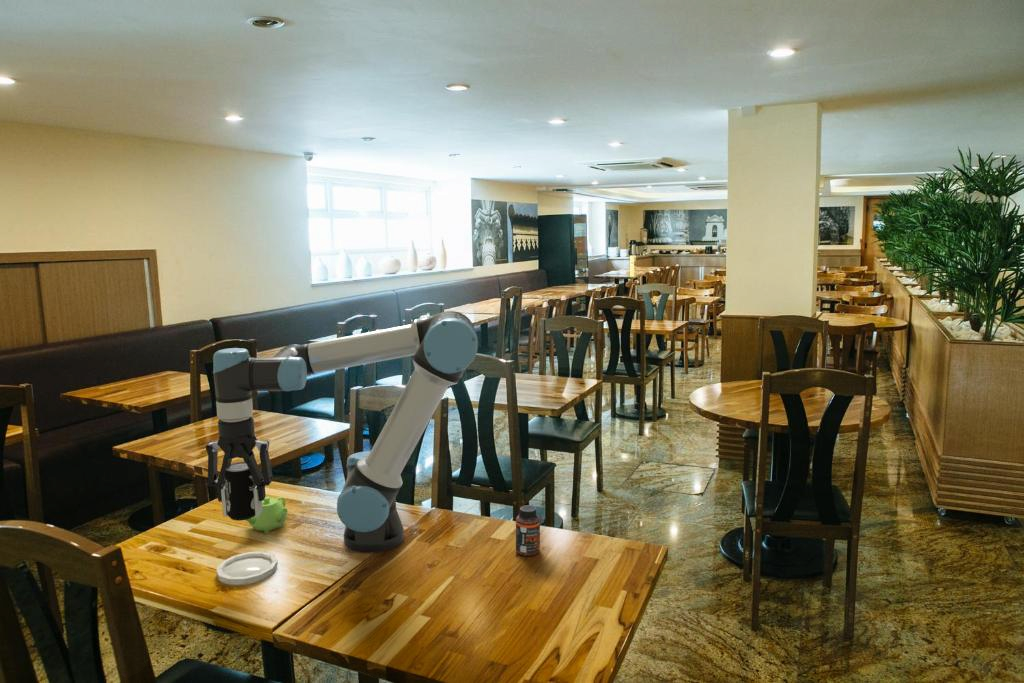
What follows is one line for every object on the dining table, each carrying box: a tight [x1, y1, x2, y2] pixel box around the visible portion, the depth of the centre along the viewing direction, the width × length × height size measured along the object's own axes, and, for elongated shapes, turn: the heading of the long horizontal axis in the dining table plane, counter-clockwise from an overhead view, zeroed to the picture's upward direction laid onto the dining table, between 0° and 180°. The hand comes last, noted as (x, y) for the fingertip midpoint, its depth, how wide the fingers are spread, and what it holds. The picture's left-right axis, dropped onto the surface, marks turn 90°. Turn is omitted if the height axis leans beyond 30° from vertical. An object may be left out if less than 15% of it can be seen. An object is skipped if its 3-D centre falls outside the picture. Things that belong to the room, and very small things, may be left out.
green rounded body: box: [245, 496, 289, 534], centre depth 185 cm, size 11×12×8 cm
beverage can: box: [224, 461, 256, 522], centre depth 159 cm, size 7×7×12 cm
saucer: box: [216, 551, 279, 587], centre depth 162 cm, size 13×13×2 cm
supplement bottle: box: [515, 504, 541, 557], centre depth 170 cm, size 6×6×11 cm
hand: (243, 513), depth 160 cm, fingers closed on beverage can, 7 cm apart
